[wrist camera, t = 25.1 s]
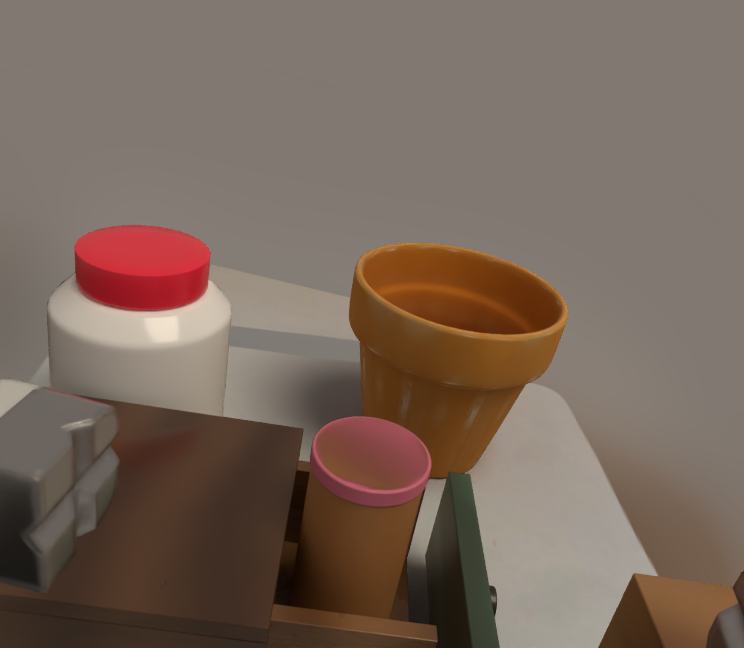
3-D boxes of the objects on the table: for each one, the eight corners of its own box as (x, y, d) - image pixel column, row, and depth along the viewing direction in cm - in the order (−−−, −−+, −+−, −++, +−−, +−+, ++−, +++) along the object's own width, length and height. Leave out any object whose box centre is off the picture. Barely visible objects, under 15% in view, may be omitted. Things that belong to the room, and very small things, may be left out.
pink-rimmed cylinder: (390, 665, 32) (435, 501, 28) (278, 651, 32) (306, 482, 27) (389, 577, 37) (428, 424, 32) (292, 564, 36) (317, 408, 32)
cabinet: (286, 540, 40) (303, 428, 37) (249, 758, 29) (268, 628, 26) (32, 505, 40) (24, 386, 36) (-107, 717, 28) (-139, 575, 25)
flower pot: (544, 511, 47) (606, 345, 41) (337, 505, 44) (372, 325, 38) (485, 393, 59) (526, 252, 53) (320, 382, 56) (344, 232, 50)
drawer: (465, 561, 40) (492, 476, 37) (492, 760, 30) (532, 665, 27) (212, 526, 39) (219, 437, 36) (152, 719, 29) (156, 617, 26)
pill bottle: (43, 514, 39) (30, 283, 33) (63, 409, 48) (55, 210, 41) (225, 504, 42) (246, 292, 36) (214, 407, 51) (229, 222, 44)
